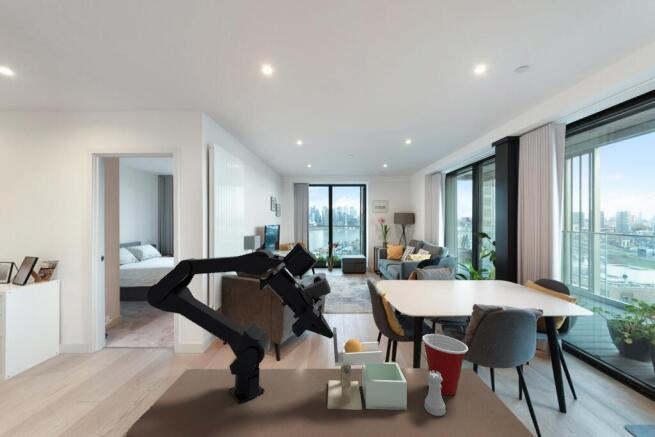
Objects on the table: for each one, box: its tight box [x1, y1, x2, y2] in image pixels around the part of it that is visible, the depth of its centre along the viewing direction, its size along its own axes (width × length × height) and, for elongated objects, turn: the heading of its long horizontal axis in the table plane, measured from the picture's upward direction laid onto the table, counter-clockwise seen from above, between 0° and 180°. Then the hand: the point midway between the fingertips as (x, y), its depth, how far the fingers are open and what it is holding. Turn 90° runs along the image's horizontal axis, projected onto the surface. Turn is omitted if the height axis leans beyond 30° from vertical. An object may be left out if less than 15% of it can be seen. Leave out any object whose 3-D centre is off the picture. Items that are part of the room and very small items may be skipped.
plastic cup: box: [422, 333, 469, 396], centre depth 68 cm, size 11×11×12 cm
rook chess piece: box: [424, 370, 446, 417], centre depth 60 cm, size 4×4×8 cm
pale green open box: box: [361, 361, 408, 411], centre depth 64 cm, size 9×9×6 cm
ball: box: [345, 338, 361, 353], centre depth 65 cm, size 4×4×4 cm
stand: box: [327, 350, 363, 411], centre depth 65 cm, size 8×10×9 cm
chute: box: [332, 327, 384, 367], centre depth 65 cm, size 11×6×7 cm, turn 89°
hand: (332, 336), depth 65 cm, fingers closed, pressing on chute
